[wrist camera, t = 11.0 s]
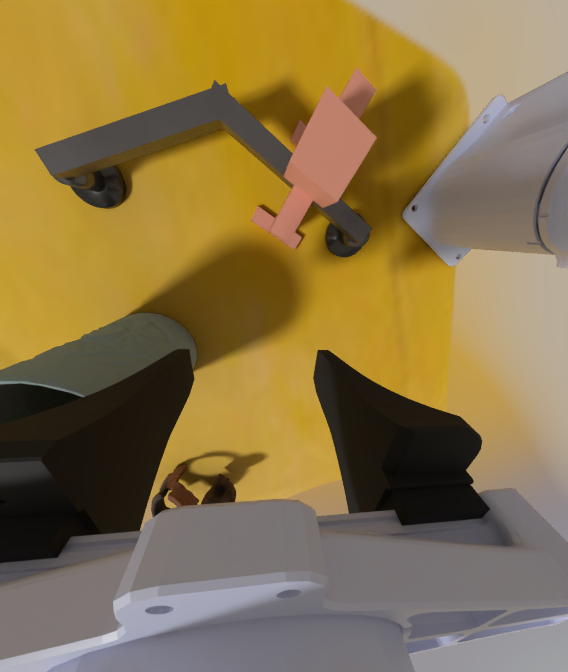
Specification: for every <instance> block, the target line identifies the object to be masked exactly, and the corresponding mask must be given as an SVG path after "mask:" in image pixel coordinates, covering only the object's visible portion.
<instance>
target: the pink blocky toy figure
mask: <svg viewBox="0 0 568 672" xmlns="http://www.w3.org/2000/svg"><path fill="white" fill-rule="evenodd" d="M375 91H376V89H375V88H374V87H373V86H372V84H371V83H370V82H369V81H368V80H367V79H366V78H365V76H364V75H363V74H362V73H361V72H360V71H359V70H358V68H356V69H355V71H354V73H353V75H352V76H351V78H350V80H349V82H348V84H347V85H346V87H345V89H344V91H343V92H342V94H341V96H340V98H338V97H337V96H336V95H335V94H334V93H333V92H332V91H331V90H330V89H329V87H328V86H327V87H326V89H325V91H324V93H323V95H322V97H321V99H320V101H319V103H318V105H317V107H316V109H315V111H314V113H313V115H312V117H311V119H310V121H309V123H308V125H307V126H306V125H305V124H304V123H303V122H302V121H299V123H298V125H297V127H296V129H295V131H294V133H293V135H292V137H291V140H290V141H291V142H292V143H293V144H295V145H296V146H297V147H296V149H295V151H294V153H293V155H292V157H291V159H290V161H289V163H288V166H287V169H286V172H285V174H284V178H286V179H287V180H288V181H289V182H291V183H292V184H293V185H294V186H293V188H292V190H291V191H290V193H289V195H288V197H287V199H286V201H285V203H284V205H283V207H282V209H281V210H280V212H279V213H278V215H277V216H276V217H275V218H274V217H273V216H271V215H270V214H268V213H267V212H266V211H264V210H263V209H261V208H260V207H259V206H258V207H257V209H256V211H255V213H254V215H253V217H252V219H251V221H253V222H254V223H256V224H257V225H259V226H260V227H262V228H263V229H265V230H266V231H267V232H269V233H270V234H272V235H273V236H275V237H276V238H278V239H279V240H281V241H282V242H284V243H285V244H286V245H288V246H289V247H291V248H292V249H294V250H295V248H296V247H297V245H298V243H299V242H300V240H301V238H302V237H301V236H299V235H298V234H296V233H295V231H296V229H297V227H298V226H299V224H300V222H301V220H302V219H303V217H304V215H305V213H306V212H307V210H308V208H309V206H310V205H311V203H312V201H314V202H316V203H317V204H318V205H319V206H321V207H322V208H324V207H326V206H329V205H331V204H333V203H336V202H338V200H339V199H340V197H341V195H342V194H343V192H344V190H345V189H346V187H347V186H348V184H349V182H350V181H351V179H352V177H353V176H354V174H355V173H356V171H357V169H358V168H359V166H360V164H361V163H362V161H363V160H364V158H365V156H366V155H367V153H368V151H369V150H370V148H371V147H372V145H373V143H374V142H375V140H376V138H377V137H376V136H375V135H374V134H373V133H372V132H371V131H370V130H369V129H368V128H367V127H366V126H365V125H364V124H363V123H362V122H361V121H360V120H359V119H360V117H361V116H362V114H363V112H364V110H365V109H366V107H367V105H368V103H369V102H370V100H371V98H372V96H373V95H374V93H375Z"/></svg>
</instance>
